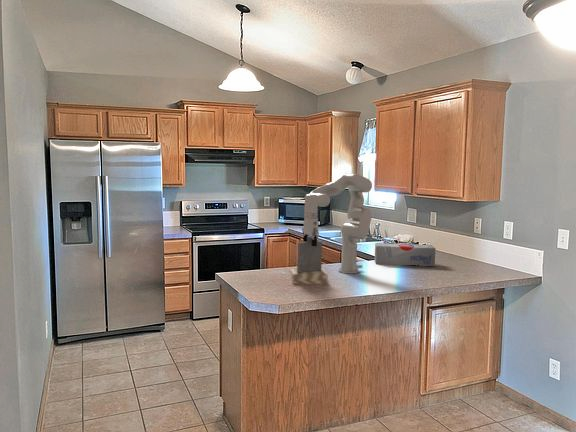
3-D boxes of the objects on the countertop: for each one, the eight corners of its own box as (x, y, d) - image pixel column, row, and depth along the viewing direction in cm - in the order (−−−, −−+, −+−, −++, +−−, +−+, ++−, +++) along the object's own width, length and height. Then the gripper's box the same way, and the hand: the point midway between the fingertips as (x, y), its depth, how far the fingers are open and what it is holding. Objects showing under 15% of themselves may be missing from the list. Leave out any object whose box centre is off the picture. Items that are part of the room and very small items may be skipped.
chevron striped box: (323, 278, 286) (324, 269, 285) (327, 284, 272) (327, 274, 271) (290, 278, 284) (291, 268, 284) (292, 284, 271) (292, 273, 270)
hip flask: (298, 273, 272) (299, 238, 270) (295, 271, 276) (296, 237, 274) (322, 271, 280) (323, 237, 278) (318, 269, 283) (319, 236, 281)
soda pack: (431, 263, 338) (432, 244, 336) (435, 267, 325) (436, 247, 324) (373, 261, 342) (374, 242, 341) (375, 264, 330) (376, 245, 328)
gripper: (324, 217, 268) (323, 246, 270) (308, 213, 283) (308, 242, 285) (312, 217, 265) (311, 247, 267) (297, 214, 280) (297, 242, 282)
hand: (309, 244), depth 276 cm, fingers open, 9 cm apart
